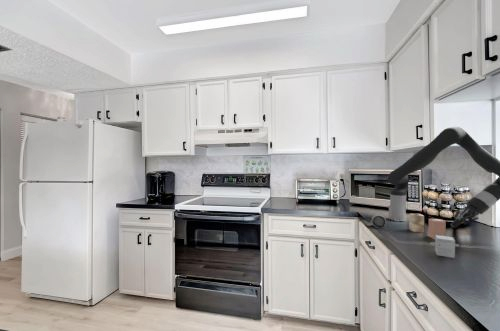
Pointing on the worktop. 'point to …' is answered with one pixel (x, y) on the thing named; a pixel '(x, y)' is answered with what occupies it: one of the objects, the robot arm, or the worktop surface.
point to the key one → (416, 222)
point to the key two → (436, 228)
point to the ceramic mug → (377, 221)
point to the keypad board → (434, 243)
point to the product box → (445, 246)
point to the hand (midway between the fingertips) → (452, 226)
